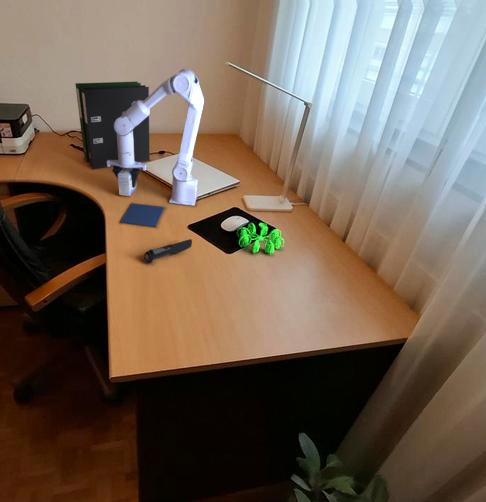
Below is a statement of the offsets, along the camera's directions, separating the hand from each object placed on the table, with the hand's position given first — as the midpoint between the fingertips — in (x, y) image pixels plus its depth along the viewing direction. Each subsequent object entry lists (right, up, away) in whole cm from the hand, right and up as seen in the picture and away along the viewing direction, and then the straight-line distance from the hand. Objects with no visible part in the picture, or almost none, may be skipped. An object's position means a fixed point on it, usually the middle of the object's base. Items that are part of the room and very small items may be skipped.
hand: (127, 185), depth 133 cm
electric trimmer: (+17, -26, -30) cm, 43 cm away
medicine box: (0, -2, +1) cm, 3 cm away
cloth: (+7, -12, -11) cm, 18 cm away
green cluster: (+45, -23, -23) cm, 55 cm away
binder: (-10, +18, +30) cm, 36 cm away
